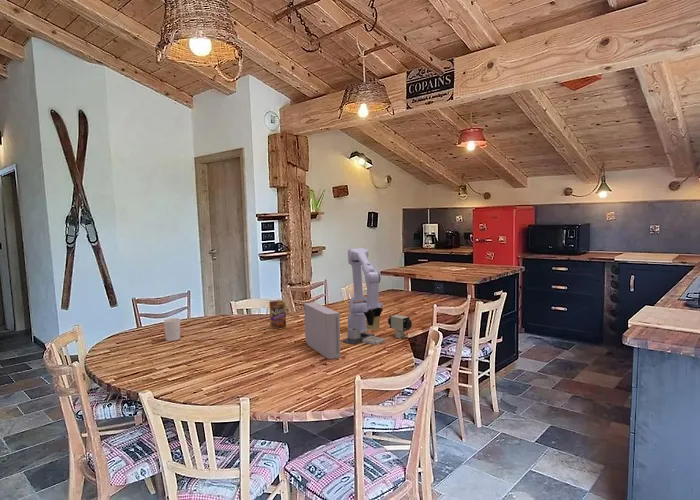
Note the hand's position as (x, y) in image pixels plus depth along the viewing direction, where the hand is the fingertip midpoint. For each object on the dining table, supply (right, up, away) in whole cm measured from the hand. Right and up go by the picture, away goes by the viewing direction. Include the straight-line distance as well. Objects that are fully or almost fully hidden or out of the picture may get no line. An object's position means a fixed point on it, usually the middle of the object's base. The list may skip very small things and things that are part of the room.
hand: (373, 324), depth 220 cm
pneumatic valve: (+14, -8, +8) cm, 18 cm away
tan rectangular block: (0, -2, 0) cm, 2 cm away
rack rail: (-7, -9, +5) cm, 12 cm away
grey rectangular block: (-9, -9, +2) cm, 13 cm away
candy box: (-51, -8, +32) cm, 61 cm away
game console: (-24, -11, -11) cm, 29 cm away
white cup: (-102, -10, +13) cm, 103 cm away
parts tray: (0, -9, +1) cm, 9 cm away
